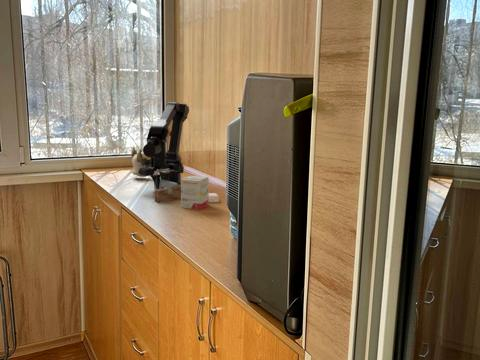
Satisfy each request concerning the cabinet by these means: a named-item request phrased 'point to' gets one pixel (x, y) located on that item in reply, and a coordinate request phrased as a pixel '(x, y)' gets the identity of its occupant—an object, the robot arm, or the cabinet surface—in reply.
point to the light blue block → (166, 185)
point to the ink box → (195, 192)
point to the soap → (213, 197)
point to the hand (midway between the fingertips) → (159, 188)
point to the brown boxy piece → (167, 194)
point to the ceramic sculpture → (137, 161)
